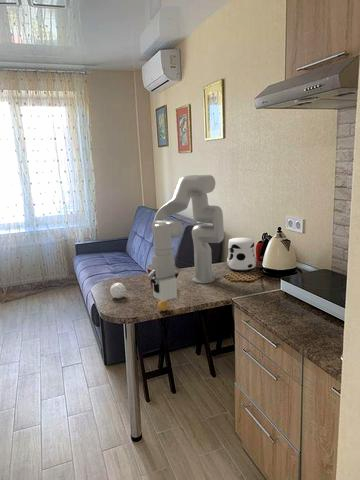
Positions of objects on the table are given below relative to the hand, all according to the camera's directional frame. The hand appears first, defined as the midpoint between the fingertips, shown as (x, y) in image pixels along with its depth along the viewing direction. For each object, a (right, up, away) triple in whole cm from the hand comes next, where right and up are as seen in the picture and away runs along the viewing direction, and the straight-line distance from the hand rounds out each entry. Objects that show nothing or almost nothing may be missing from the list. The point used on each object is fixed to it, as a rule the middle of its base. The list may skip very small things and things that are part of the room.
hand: (164, 289), depth 163 cm
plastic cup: (-5, -4, +35) cm, 36 cm away
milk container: (+44, +4, +62) cm, 77 cm away
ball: (-1, -8, +4) cm, 9 cm away
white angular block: (0, -3, +1) cm, 3 cm away
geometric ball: (-24, -7, +23) cm, 34 cm away
